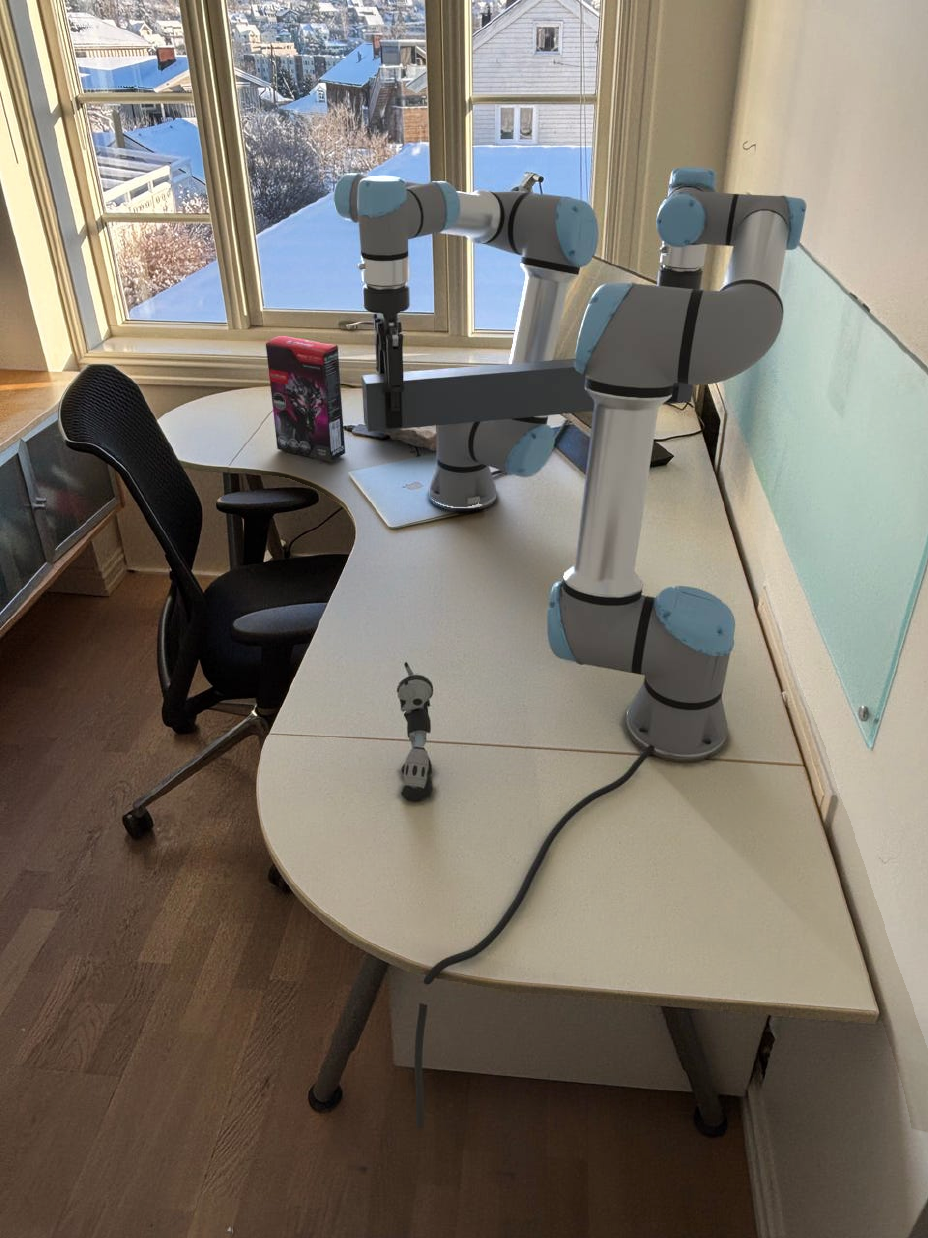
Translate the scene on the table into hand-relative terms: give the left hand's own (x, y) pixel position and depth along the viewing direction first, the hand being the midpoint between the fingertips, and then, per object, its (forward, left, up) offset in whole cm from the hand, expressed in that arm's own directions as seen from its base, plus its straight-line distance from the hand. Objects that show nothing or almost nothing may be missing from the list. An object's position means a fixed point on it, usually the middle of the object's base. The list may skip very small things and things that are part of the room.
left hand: (391, 421), depth 161 cm
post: (-13, +22, -1) cm, 26 cm away
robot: (+52, +21, -33) cm, 65 cm away
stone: (-66, -20, -33) cm, 76 cm away
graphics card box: (-52, -40, -33) cm, 74 cm away
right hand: (-26, +45, 0) cm, 52 cm away
